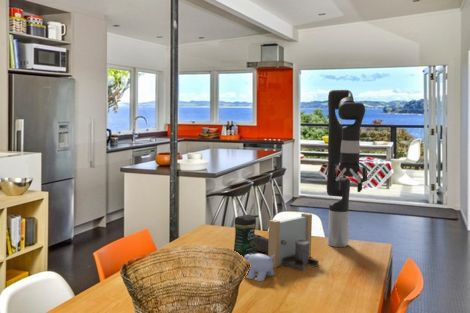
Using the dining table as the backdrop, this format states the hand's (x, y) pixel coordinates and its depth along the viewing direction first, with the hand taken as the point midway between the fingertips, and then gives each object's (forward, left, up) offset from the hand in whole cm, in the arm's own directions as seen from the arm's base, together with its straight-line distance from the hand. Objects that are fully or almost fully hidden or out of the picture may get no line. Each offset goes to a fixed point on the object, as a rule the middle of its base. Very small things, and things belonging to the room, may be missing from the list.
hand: (348, 190), depth 189 cm
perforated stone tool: (+10, -38, -32) cm, 51 cm away
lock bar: (+12, -13, -32) cm, 37 cm away
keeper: (+12, -14, -32) cm, 37 cm away
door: (+11, -21, -32) cm, 40 cm away
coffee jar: (+22, -38, -32) cm, 55 cm away
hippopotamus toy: (+35, -17, -32) cm, 51 cm away
